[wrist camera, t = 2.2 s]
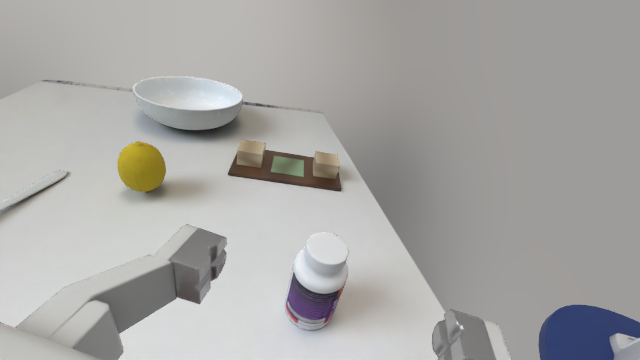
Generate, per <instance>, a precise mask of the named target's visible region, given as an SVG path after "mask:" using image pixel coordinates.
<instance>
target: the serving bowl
mask: <svg viewBox="0 0 640 360" xmlns="http://www.w3.org/2000/svg"><path fill="white" fill-rule="evenodd" d="M133 93H134V96H135V99H136V101H137V103H138V105H139V107H140V108H141V110H142V111H143V112H144V113H145V114H146V115H147V116H149V117H150V118H151V119H153V120H155V121H156V122H158V123H161V124H163V125H166V126H169V127H173V128H178V129H185V130H206V129H213V128H217V127H220V126H223V125H225V124H227V123H229V122H230V121H232V120H233V119H234V118H235V117H236V116H237V115H238V113H239V111H240V109H241V106H242V102H243V96H242V94H241V92H240V91H239V90H237V89H236V88H234V87H232V86H230V85H228V84H224V83H222V82H218V81H214V80H210V79H204V78H197V77H186V76H163V77H154V78H149V79H145V80H142V81H139V82H138V83H136V84H135V85H134V86H133Z"/></svg>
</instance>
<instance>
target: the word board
mask: <svg viewBox="0 0 640 360" xmlns="http://www.w3.org/2000/svg"><path fill="white" fill-rule="evenodd" d="M265 145H266V143H262V142H256V141H250V140H244V139H242V141H241V143H240V145H239V147H238V150H237V154H236V156H235V159H234V161H233V163H232V165H231V168H230V170H229V172H228V175H231V176H238V177H245V178H252V179H259V180H266V181H273V182H280V183H287V184H293V185H300V186H307V187H314V188H321V189H328V190H335V191H341V184H340V179H339V173H338V170H339V161H338V156H337V155H335V154H329V153H323V152H317V151H316V152H315V156H314V158H313V157H306V156H300V155H294V154H288V153H282V152H275V151H269V150H265Z"/></svg>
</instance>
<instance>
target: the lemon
mask: <svg viewBox="0 0 640 360" xmlns="http://www.w3.org/2000/svg"><path fill="white" fill-rule="evenodd" d="M118 171H119V175H120V178H121V180H122V181H123V182H124V183H125V185H126V186H128V187H129V188H131V189H133V190H136V191H144V192H148V191H150V190H153V189H155V188H157V187H158V186H159V185H160V184H161V183H162V182H163V180H164V177H165V173H166V168H165V162H164V159H163V157H162V155H161V153H160V152H159V151H158V150H157V149H156V148H155V147H154V146H152V145H150V144H147V143H141V142H135V143H133V144H130V145H128V146H127V147H125V148H124V149H123V150H122V151H121V153H120V155H119V158H118Z"/></svg>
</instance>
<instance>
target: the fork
mask: <svg viewBox="0 0 640 360" xmlns="http://www.w3.org/2000/svg"><path fill="white" fill-rule="evenodd" d="M67 173H68V171H64V170H59V171H56V172H53V173H51V174H49V175H47V176H45V177H43V178H42V179H40V180H38V181H37V182H35V183H33V184H32V185H30V186H28V187H27V188H25V189H23V190H22V191H20V192H18V193H17V194H15V195H13V196H12V197H10V198H8V199H6V200H5V201H3V202H1V203H0V211H1V210H3V209H5V208H7V207H9V206H11V205H14V204H16V203H18V202H19V201H21V200H23V199H25V198H27V197H29V196H31V195H33V194H35V193H36V192H38V191H40V190H42V189H44V188H46V187H48V186H50V185H52V184H53V183H55V182H57V181H59V180H61V179H62V178H64V177H65V176H66V175H67Z"/></svg>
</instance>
